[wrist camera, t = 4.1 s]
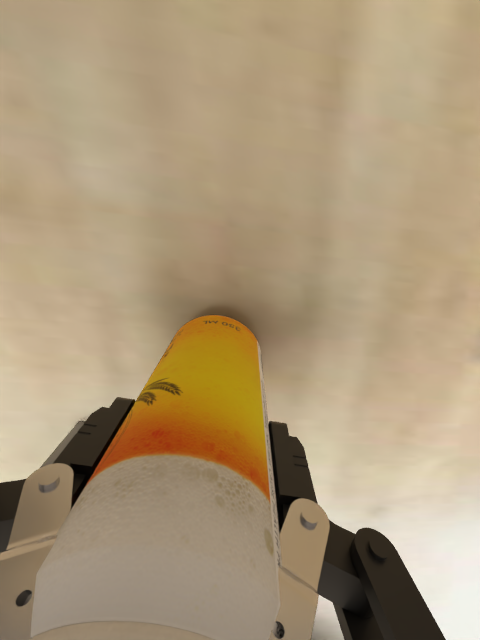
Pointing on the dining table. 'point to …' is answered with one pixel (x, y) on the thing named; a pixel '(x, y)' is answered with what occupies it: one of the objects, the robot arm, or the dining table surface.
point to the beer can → (175, 508)
